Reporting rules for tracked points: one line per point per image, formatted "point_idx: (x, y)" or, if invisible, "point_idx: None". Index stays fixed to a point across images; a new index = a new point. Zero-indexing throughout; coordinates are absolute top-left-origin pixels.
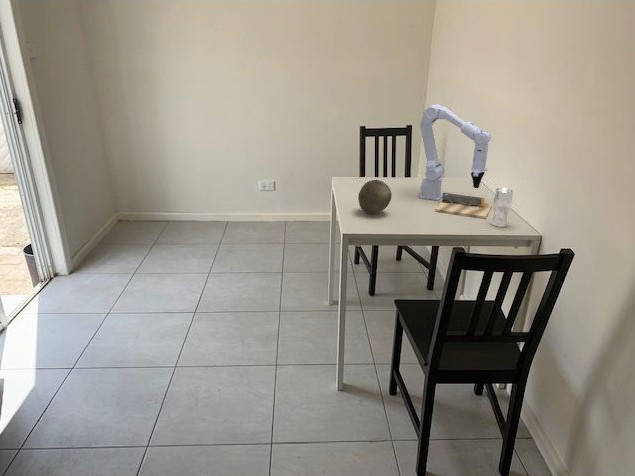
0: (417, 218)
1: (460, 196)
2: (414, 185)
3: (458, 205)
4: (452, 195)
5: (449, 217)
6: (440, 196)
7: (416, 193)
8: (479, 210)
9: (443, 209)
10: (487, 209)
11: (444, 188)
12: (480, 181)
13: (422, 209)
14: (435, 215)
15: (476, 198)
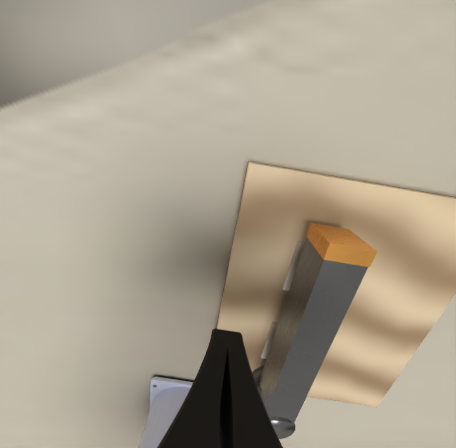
0: (450, 433)
1: (314, 377)
2: (64, 443)
3: None
4: (300, 407)
5: (446, 352)
6: (176, 385)
7: None
8: (390, 242)
9: (380, 384)
10: (369, 196)
11: (35, 367)
12: (220, 398)
13: (346, 423)
14: (417, 392)
15: (349, 298)
